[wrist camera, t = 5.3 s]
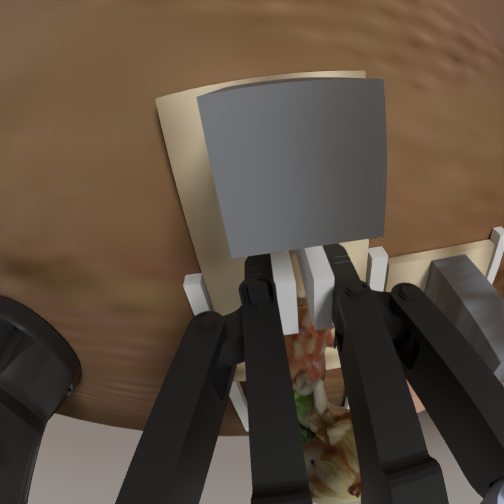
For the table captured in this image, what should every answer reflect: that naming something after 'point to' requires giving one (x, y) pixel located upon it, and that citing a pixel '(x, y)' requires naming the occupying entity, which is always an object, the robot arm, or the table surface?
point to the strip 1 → (278, 172)
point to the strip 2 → (459, 293)
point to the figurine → (321, 416)
